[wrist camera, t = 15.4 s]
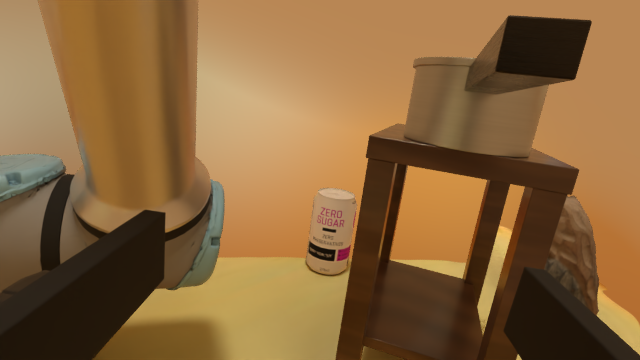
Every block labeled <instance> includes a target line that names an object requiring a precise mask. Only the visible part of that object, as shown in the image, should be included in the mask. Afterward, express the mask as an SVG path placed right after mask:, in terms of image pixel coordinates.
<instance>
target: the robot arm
mask: <svg viewBox="0 0 640 360" xmlns="http://www.w3.org/2000/svg"><path fill="white" fill-rule="evenodd" d="M38 3H39V6H40V10H41V14H42V17H43V21H44V24H45V28H46V32H47V36H48V39H49V43H50V46H51V50H52V54H53V57H54V61H55V64H56V68H57V72H58V75H59V79H60V82H61V86H62V90H63V93H64V97H65V101H66V104H67V108H68V112H69V115H70V118H71V122H72V126H73V130H74V133H75V137H76V140H77V144H78V148H79V151H80V155H81V159H82V162H83V165H82V166H81V167H80V168H79V170H78V171H77V172H76V174H75V175H70V174H66V173H64V172H65V171H66V167H65V165H64V164H63V162H62V160H61V159H60V158H58V157H56V156H48V155H44V154H18V155H3V156H0V360H92V359H93V358H94V357H95V355H96V354H97V353H98V352H99V351H100V350H101V349H102V348H103V347H104V345H105V344H106V343H107V342H108V341H109V340H110V339H111V338H112V337H113V335H114V334H115V333H116V332H117V331H118V330H119V329H120V328H121V326H122V325H123V324H124V323H125V322H126V321H127V320H128V319H129V318H130V316H131V315H132V314H133V313H134V312H135V311H136V310H137V309H138V308H139V306H140V305H141V304H142V303H143V302H144V301H145V300H146V299H147V298H148V296H149V295H150V294H151V293H152V292H153V291H154V290H155V289H160V288H166V289H168V290H176V289H178V288H180V287H190V286H198V285H201V284H203V283H205V282H206V281H207V280H208V279H209V278H210V276H211V275H212V273H213V271H214V268H215V265H216V261H217V258H218V253H219V247H220V238H221V234H222V229H223V220H224V190H223V187H222V185H221V184H220V183H219V182H216V181H213V180H211V179H210V176H209V173H208V170H207V169H206V167H205V166H204V164H203V163H202V162H201V161H200V160H199V159H198V158H196V157H195V141H196V88H197V33H198V0H38ZM503 331H504V333H505V334H506V336H507V337H508V339H509V340H510V342H511V344H512V345H513V347H514V348H515V350H516V351H517V353H518V354H519V356H520V357H521V359H522V360H640V355H639V354H638V353H637V352H636V351H634V350H633V349H632V348H631V347H630V346H629V345H628V344H627V343H626V342H625V341H623V340H622V339H621V338H620V337H619V336H618V335H617V334H616V333H615V332H614V331H612V330H611V329H610V328H609V327H608V326H607V325H606V324H605V323H604V322H603V321H601V320H600V319H599V318H598V317H597V316H596V315H595V314H594V313H593V312H592V311H590V310H589V309H588V308H587V307H586V306H585V305H584V304H583V303H582V302H581V301H579V300H578V299H577V298H576V297H575V296H574V295H573V294H572V293H571V292H570V291H568V290H567V289H566V288H565V287H564V286H563V285H562V284H561V283H560V282H559V281H558V280H556V279H555V278H554V277H553V276H552V275H551V274H550V273H549V272H548V271H547V270H544V269H537V268H530V267H524V270H523V273H522V276H521V279H520V282H519V285H518V288H517V291H516V294H515V297H514V300H513V303H512V306H511V309H510V312H509V315H508V318H507V321H506V324H505V327H504V330H503Z"/></svg>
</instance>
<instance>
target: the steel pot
mask: <svg viewBox="0 0 640 360" xmlns="http://www.w3.org/2000/svg"><path fill="white" fill-rule="evenodd" d="M590 26H591V21H590V20H578V19H561V18H544V17H527V16H511V15H510V16H508V17H507V19H506V20H505V21H504V23H503V24H502V25H501V26H500V28H499V29H498V30H497V32H496V33H495V34H494V36H493V37H492V38H491V40H490V41H489V42H488V43H487V45H486V46H485V47H484V49H483V50H482V51H481V53H480V54H479V55H478V56H477V58H462V57H424V58H418V59H415V60H414V64H413V67H414V68H415V69H416V72H415V77H414V83H413V88H412V93H411V99H410V104H409V109H408V115H407V121H406V126H405V131H404V137H406V138H408V139H411V140H414V141H417V142H421V143H425V144H429V145H434V146H438V147H443V148H448V149H454V150H459V151H465V152H471V153H478V154H485V155H493V156H502V157H514V158H525V157H529V154H530V151H531V147H532V143H533V140H534V136H535V133H536V129H537V126H538V122H539V118H540V115H541V111H542V107H543V104H544V100H545V96H546V93H547V89H548V86H549V84H554V83H560V82H565V81H570V80H574V79H575V78H576V74H577V71H578V67H579V64H580V60H581V57H582V54H583V50H584V47H585V44H586V40H587V37H588V33H589V30H590Z"/></svg>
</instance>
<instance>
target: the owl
mask: <svg viewBox="0 0 640 360" xmlns="http://www.w3.org/2000/svg"><path fill="white" fill-rule="evenodd" d="M595 254H596V248H595V242H594V238H593V230H592V226H591V224H590V221H589V218H588V216H587V214H586V213H585V211H584V210H583V208H582V206H581V204H580V202H579V201H578V200H577V199H576V197H575V196H571V197H568V196H567V198H566V201H565V204H564V207H563V211H562V214H561V217H560V220H559V223H558V227H557V230H556V233H555V236H554V239H553V243H552V246H551V249H550V252H549V255H548V259H547V262H546V265H545V268H544V270H547V271H548V272H549V273H550V274H551V275H552V276H553V277H554V278H555V279H556V280H558V281H559V282H560V283H561V284H562V285H563V286H564V287H565V288H566V289H567V290H568V291H570V292H571V293H572V294H573V295H574V296H575V297H576V298H577V299H578V300H579V301H581V302H582V303H583V304H584V305H585V306H586V307H587V308H588V309H589V310H590V311H592V312H593V313H594V314H595V315H597V313H598V312H599V310H598V303H597V294H598V293H597V292H598V286H599V278H598V275H597V266H596V256H595Z"/></svg>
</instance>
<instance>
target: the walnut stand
mask: <svg viewBox="0 0 640 360" xmlns="http://www.w3.org/2000/svg"><path fill="white" fill-rule="evenodd" d="M405 126H406V125H404V124H396V125H394V126H391V127H389V128H387V129H384V130H382V131H379V132H377V133H375V134H372V135H370V136H369V141H368V147H367V154H366V158H369V159H368V165H367V170H366V177H365V182H364V188H363V195H362V201H361V207H360V213H359V219H358V225H357V231H356V237H355V244H354V249H353V256H352V262H351V268H350V274H349V280H348V286H347V292H346V298H345V305H344V311H343V317H342V323H341V329H340V335H339V341H338V347H337V353H336V360H361V358H362V353H363V347H364V346H367V347H370V348H373V349H376V350H379V351H382V352H385V353H388V354H391V355H394V356H397V357H400V358H403V359H406V360H516V358H517V355H518V353H517V351H516V350H515V348H514V347H513V345H512V344H511V342H510V340H509V339H508V337H507V336H506V334H505V333H504V331H503V330H504V327H505V324H506V321H507V318H508V315H509V312H510V309H511V306H512V303H513V300H514V297H515V294H516V291H517V288H518V285H519V282H520V279H521V276H522V273H523V270H524V267H530V268H537V269H544V268H545V265H546V262H547V259H548V255H549V252H550V249H551V246H552V243H553V239H554V236H555V233H556V230H557V227H558V223H559V220H560V217H561V214H562V211H563V207H564V204H565V201H566V198H567V194H570V195H571V194H572V192H573V189H574V185H575V182H576V179H577V176H578V173H579V169H577V168H574V167H572V166H570V165H568V164H566V163H564V162H561V161H559V160H557V159H555V158H553V157H550V156H548V155H546V154H544V153H542V152H540V151H537V150H535V149H533V148H531V151H530V154H529V157H525V158H514V157H502V156H493V155H485V154H478V153H471V152H465V151H459V150H454V149H448V148H443V147H438V146H434V145H429V144H425V143H421V142H417V141H414V140H411V139H408V138H406V137H404V131H405ZM408 165H409V166H414V167H420V168H425V169H431V170H436V171H442V172H448V173H453V174H459V175H464V176H470V177H475V178H481V179H486V180H487V183H486V187H485V191H484V195H483V199H482V203H481V207H480V211H479V215H478V219H477V223H476V227H475V231H474V235H473V239H472V243H471V247H470V251H469V255H468V259H467V263H466V267H465V271H464V275H463V279H461V278H457V277H453V276H449V275H445V274H441V273H438V272H434V271H430V270H426V269H422V268H418V267H414V266H410V265H407V264H403V263H399V262H395V261H391V260H390V256H391V251H392V245H393V241H394V235H395V230H396V224H397V220H398V215H399V209H400V203H401V199H402V193H403V188H404V183H405V178H406V173H407V168H408ZM510 184H514V185H519V186H525V189H524V193H523V196H522V199H521V203H520V207H519V210H518V214H517V218H516V221H515V225H514V228H513V232H512V235H511V239H510V242H509V246H508V249H507V253H506V257H505V260H504V264H503V267H502V271H501V274H500V278H499V282H498V285H497V289H496V292H495V296H494V300H493V303H492V307H491V310H490V314H489V317H488V321H487V325H486V328H485V332H484V335H483V336H482V330H481V325H480V320H479V314H478V309H477V305H478V302H479V298H480V294H481V291H482V287H483V283H484V279H485V276H486V272H487V268H488V265H489V261H490V257H491V253H492V250H493V246H494V242H495V238H496V235H497V231H498V227H499V224H500V220H501V216H502V212H503V208H504V205H505V201H506V197H507V194H508V190H509V186H510Z"/></svg>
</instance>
